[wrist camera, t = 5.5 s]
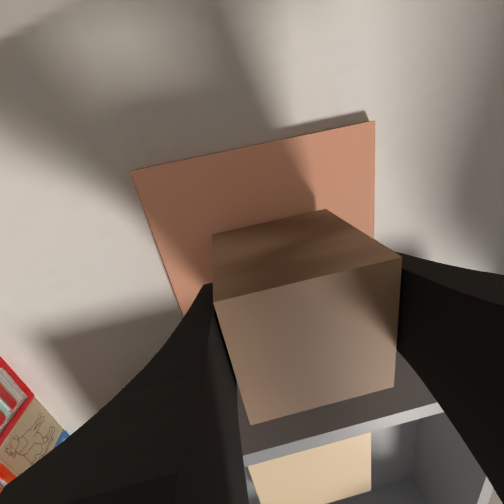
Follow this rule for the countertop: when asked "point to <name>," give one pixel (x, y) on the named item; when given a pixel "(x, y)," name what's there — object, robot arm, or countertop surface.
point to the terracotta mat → (254, 195)
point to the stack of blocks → (23, 427)
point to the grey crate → (363, 452)
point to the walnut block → (306, 312)
